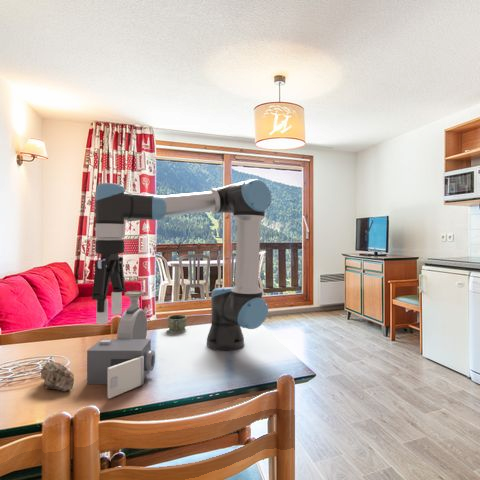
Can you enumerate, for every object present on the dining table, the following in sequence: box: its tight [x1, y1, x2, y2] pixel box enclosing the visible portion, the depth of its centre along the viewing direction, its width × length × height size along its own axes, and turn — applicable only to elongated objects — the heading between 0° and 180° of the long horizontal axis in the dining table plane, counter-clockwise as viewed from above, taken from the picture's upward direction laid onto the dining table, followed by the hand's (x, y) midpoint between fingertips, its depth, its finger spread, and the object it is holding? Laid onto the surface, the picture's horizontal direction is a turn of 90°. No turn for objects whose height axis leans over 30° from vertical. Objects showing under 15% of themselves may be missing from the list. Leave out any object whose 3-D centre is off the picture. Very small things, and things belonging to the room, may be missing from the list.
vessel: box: [166, 314, 188, 334], centre depth 144 cm, size 12×9×6 cm
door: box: [107, 356, 145, 399], centre depth 87 cm, size 11×2×8 cm, turn 141°
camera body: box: [86, 338, 156, 385], centre depth 96 cm, size 18×10×11 cm, turn 91°
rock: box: [40, 360, 75, 392], centre depth 90 cm, size 7×11×10 cm
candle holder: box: [124, 290, 145, 307], centre depth 128 cm, size 9×9×20 cm
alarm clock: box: [116, 306, 148, 339], centre depth 111 cm, size 16×10×18 cm, turn 178°
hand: (109, 318), depth 87 cm, fingers open, 9 cm apart
